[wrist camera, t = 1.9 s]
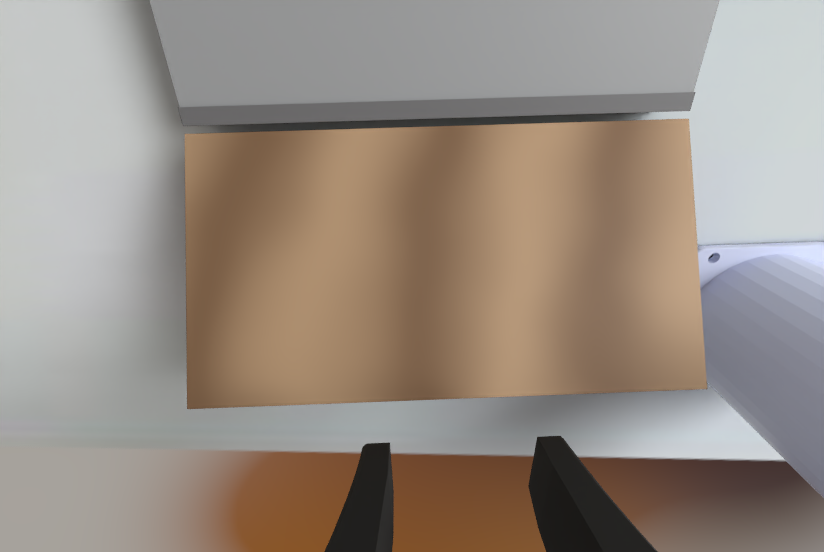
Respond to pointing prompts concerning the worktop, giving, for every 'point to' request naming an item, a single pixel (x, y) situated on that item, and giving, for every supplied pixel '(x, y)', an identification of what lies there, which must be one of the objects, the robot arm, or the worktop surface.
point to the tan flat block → (441, 263)
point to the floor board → (429, 58)
